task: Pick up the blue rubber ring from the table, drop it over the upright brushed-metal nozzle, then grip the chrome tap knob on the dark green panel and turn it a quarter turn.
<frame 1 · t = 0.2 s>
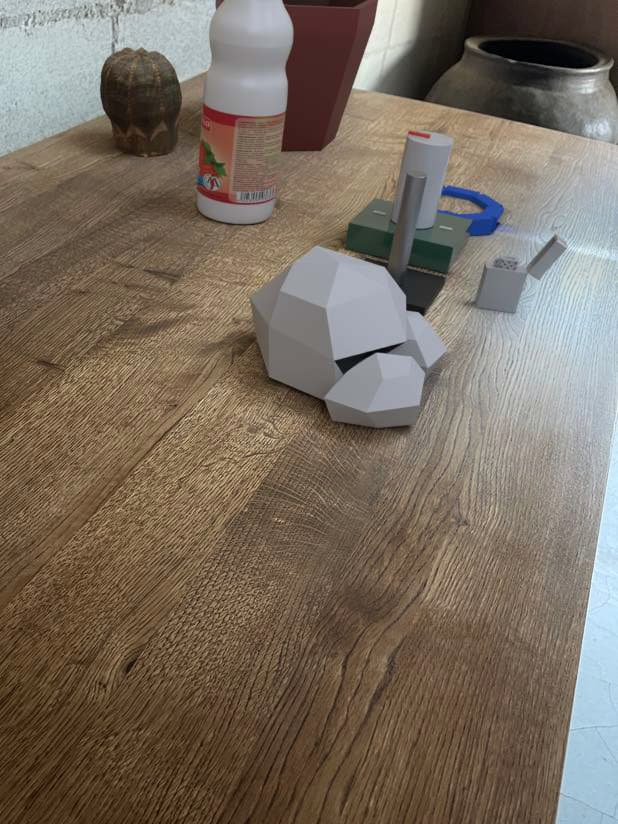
rock: (337, 379, 81), on the table
ring: (449, 217, 115), on the table
fruit juice: (234, 213, 111), on the table
bucket: (282, 136, 137), on the table
tap knob: (421, 179, 101), point 8 cm above the table, hinge at 0.0°
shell: (139, 148, 128), on the table
lighter: (508, 310, 95), on the table
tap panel: (406, 246, 106), on the table
nozzle: (392, 290, 96), on the table
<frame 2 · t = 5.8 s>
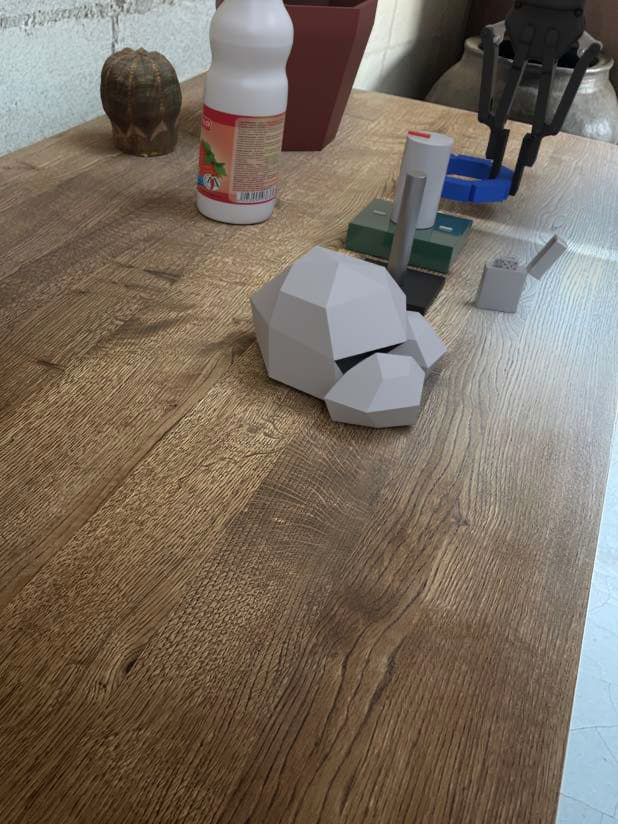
hand: (502, 190, 111), 5 cm above the table, tool pointing down, fingers closed on ring, 2 cm apart
ring: (460, 185, 113), point 4 cm above the table, touching gripper
everything else where it was.
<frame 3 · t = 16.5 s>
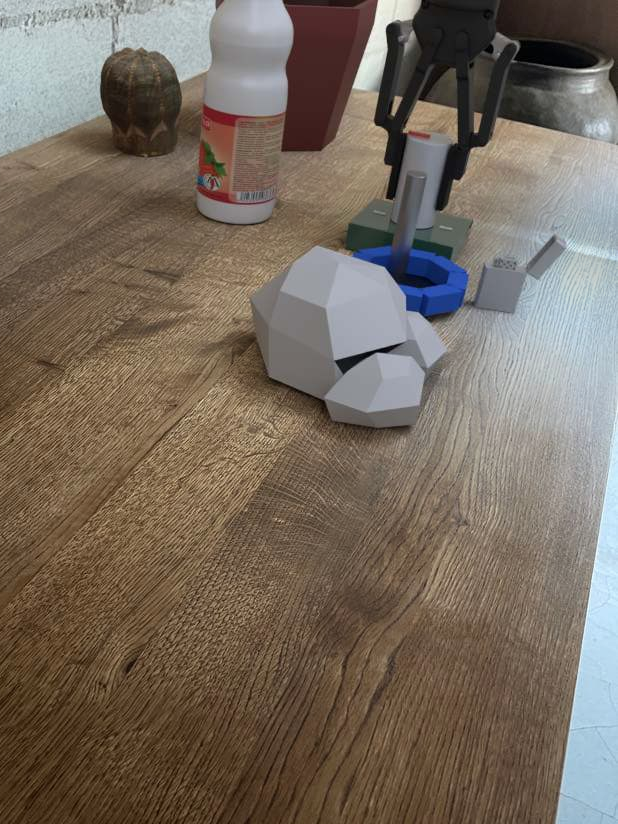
hand: (416, 201, 103), 5 cm above the table, tool pointing down, fingers closed on tap knob, 5 cm apart
ring: (404, 288, 95), point 1 cm above the table, touching nozzle
tap knob: (421, 179, 101), point 8 cm above the table, hinge at 0.0°, touching gripper
everything else where it was.
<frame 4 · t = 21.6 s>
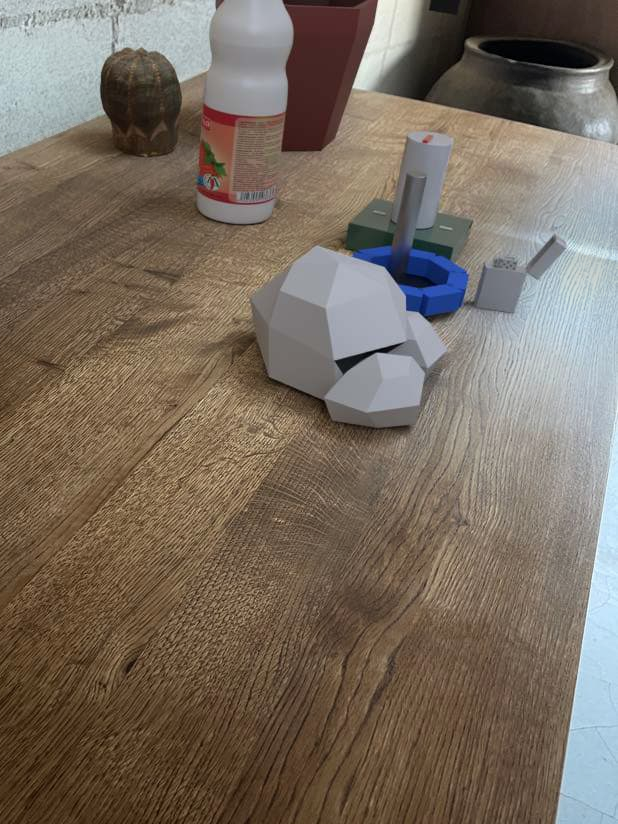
hand: (459, 3, 91), 25 cm above the table, tool pointing down, fingers open, 13 cm apart
tap knob: (421, 179, 101), point 8 cm above the table, hinge at 90.0°
everything else where it was.
at the end: ring 1.8 cm off-centre on the nozzle, point 1.0 cm above the nozzle's base; tap knob at +90° (first picture: +0°) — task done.
